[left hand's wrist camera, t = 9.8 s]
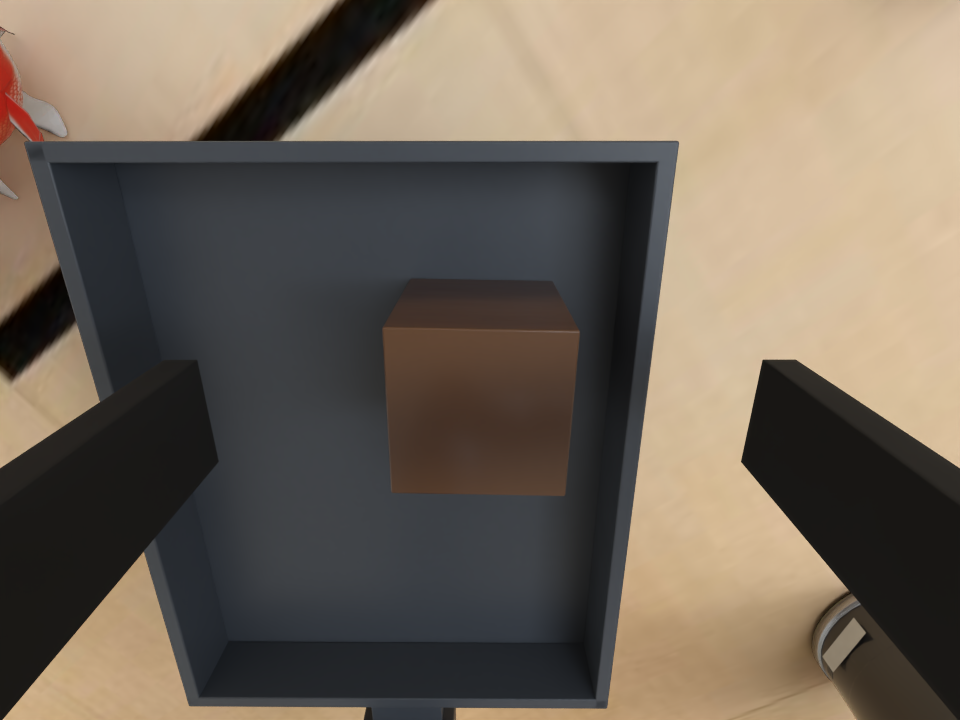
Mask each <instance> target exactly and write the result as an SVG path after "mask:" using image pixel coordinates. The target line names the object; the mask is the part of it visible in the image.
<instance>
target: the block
mask: <svg viewBox="0 0 960 720" xmlns="http://www.w3.org/2000/svg"><path fill="white" fill-rule="evenodd" d="M382 335H383V354H384V372H385V391H386V409H387V428H388V446H389V465H390V483H391V492H392V493H419V494H477V495H534V496H565V492H566V480H567V469H568V458H569V447H570V436H571V425H572V414H573V403H574V392H575V381H576V370H577V359H578V348H579V337H580V331H579V329H578V327H577V325H576V324H575V322H574V320H573V318H572V316H571V314H570V312H569V311H568V309H567V307H566V305H565V303H564V301H563V299H562V297H561V296H560V294H559V292H558V290H557V288H556V286H555V284H554V282H553V281H523V280H466V279H410V281H409V282H408V284H407V286H406V288H405V289H404V291H403V293H402V295H401V296H400V298H399V300H398V302H397V303H396V305H395V307H394V309H393V310H392V312H391V314H390V316H389V317H388V319H387V321H386V323H385V324H384V326H383V328H382Z"/></svg>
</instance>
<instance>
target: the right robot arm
mask: <svg viewBox="0 0 960 720" xmlns="http://www.w3.org/2000/svg"><path fill="white" fill-rule="evenodd" d="M812 650H813V654H814V657H815V659H816V661H817V663H818V664H819V666H820V667H821V669H822V670H823V672H824V673H825V675H826V676H827V677H828V678H829V679H830V680H831V681H832V682H833V684H834V686H835V687H836V689H837V690H838V692H839V693H840V695H841V696H842V698H843V699H844V701H845V702H846V704H847V705H848V707H849V708H850V710H851V711H852V713H853V715H854V716H855V718H856V719H857V720H957V718H956V717H955V716H954V715H953V714H952V712H951V711H950V710H949V709H948V708H947V707H946V705H945V704H944V703H943V702H942V701H941V699H940V698H939V697H938V696H937V695H936V693H935V692H934V691H933V690H932V689H931V687H930V686H929V685H928V684H927V683H926V682H925V680H924V679H923V678H922V677H921V676H920V674H919V673H918V672H917V671H916V670H915V668H914V667H913V666H912V665H911V664H910V662H909V661H908V660H907V659H906V658H905V656H904V655H903V654H902V653H901V652H900V651H899V649H898V648H897V647H896V646H895V645H894V643H893V642H892V641H891V640H890V639H889V637H888V636H887V635H886V634H885V633H884V631H883V630H882V629H881V628H880V627H879V625H878V624H877V623H876V622H875V621H874V620H873V618H872V617H871V616H870V615H869V614H868V612H867V611H866V610H865V609H864V608H863V606H862V605H861V604H860V603H859V602H858V600H857V599H856V598H855V597H854V596H853V595H852V594H850V595H848V596H846V597H845V598H843V599H842V600H840V601H839V602H838V603H836V604H835V605H834V606H833V607H832V608H830V609H829V611H828V612H827V613H826V614H825V615H824V616H823V617H822V619H821V620H820V622H819V623H818V625H817V627H816V629H815V632H814V635H813V639H812Z"/></svg>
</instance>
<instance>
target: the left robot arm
mask: <svg viewBox="0 0 960 720" xmlns="http://www.w3.org/2000/svg"><path fill="white" fill-rule="evenodd" d="M218 462H219V460H218V455H217V451H216V446H215V441H214V437H213V432H212V427H211V422H210V418H209V413H208V408H207V404H206V399H205V394H204V389H203V385H202V380H201V375H200V371H199V366H198V361H197V360H163V361H162V362H160V363H159V364H157V365H156V366H154V367H153V368H151V369H150V370H148V371H147V372H145V373H144V374H142V375H141V376H139V377H137V378H136V379H134V380H133V381H131V382H130V383H128V384H127V385H125V386H124V387H122V388H121V389H119V390H118V391H116V392H115V393H113V394H112V395H110V396H109V397H107V398H106V399H104V400H103V401H101V402H100V403H98V404H97V405H95V406H94V407H92V408H91V409H89V410H88V411H86V412H85V413H83V414H82V415H80V416H79V417H77V418H76V419H74V420H73V421H71V422H70V423H68V424H67V425H65V426H64V427H62V428H61V429H59V430H57V431H56V432H54V433H53V434H51V435H50V436H48V437H47V438H45V439H44V440H42V441H41V442H39V443H38V444H36V445H35V446H33V447H32V448H30V449H29V450H27V451H26V452H24V453H23V454H21V455H20V456H18V457H17V458H15V459H14V460H12V461H11V462H9V463H8V464H6V465H5V466H3V467H2V468H0V720H3V718H4V717H5V716H6V715H7V714H8V712H9V711H10V710H11V709H12V708H13V707H14V705H15V704H16V703H17V702H18V701H19V699H20V698H21V697H22V696H23V695H24V693H25V692H26V691H27V690H28V689H29V687H30V686H31V685H32V684H33V683H34V681H35V680H36V679H37V678H38V677H39V676H40V674H41V673H42V672H43V671H44V670H45V668H46V667H47V666H48V665H49V664H50V662H51V661H52V660H53V659H54V658H55V656H56V655H57V654H58V653H59V652H60V651H61V649H62V648H63V647H64V646H65V645H66V643H67V642H68V641H69V640H70V639H71V637H72V636H73V635H74V634H75V633H76V631H77V630H78V629H79V628H80V627H81V625H82V624H83V623H84V622H85V621H86V620H87V618H88V617H89V616H90V615H91V614H92V612H93V611H94V610H95V609H96V608H97V606H98V605H99V604H100V603H101V602H102V600H103V599H104V598H105V597H106V596H107V595H108V593H109V592H110V591H111V590H112V589H113V587H114V586H115V585H116V584H117V583H118V581H119V580H120V579H121V578H122V577H123V575H124V574H125V573H126V572H127V571H128V569H129V568H130V567H131V566H132V565H133V564H134V562H135V561H136V560H137V559H138V558H139V556H140V555H141V554H142V553H143V552H144V550H145V549H146V548H147V547H148V546H149V544H150V543H151V542H152V541H153V540H154V538H155V537H156V536H157V535H158V534H159V533H160V531H161V530H162V529H163V528H164V527H165V525H166V524H167V523H168V522H169V521H170V519H171V518H172V517H173V516H174V515H175V513H176V512H177V511H178V510H179V509H180V508H181V506H182V505H183V504H184V503H185V502H186V500H187V499H188V498H189V497H190V496H191V494H192V493H193V492H194V491H195V490H196V488H197V487H198V486H199V485H200V484H201V482H202V481H203V480H204V479H205V478H206V477H207V475H208V474H209V473H210V472H211V471H212V469H213V468H214V467H215V466H216V465H217V463H218ZM741 462H742V463H743V465H744V466H745V467H746V468H747V469H748V471H749V472H750V473H751V474H752V475H753V477H754V478H755V479H756V480H757V481H758V482H759V484H760V485H761V486H762V487H763V488H764V490H765V491H766V492H767V493H768V494H769V496H770V497H771V498H772V499H773V500H774V502H775V503H776V504H777V505H778V506H779V508H780V509H781V510H782V511H783V512H784V513H785V515H786V516H787V517H788V518H789V519H790V521H791V522H792V523H793V524H794V525H795V527H796V528H797V529H798V530H799V531H800V533H801V534H802V535H803V536H804V537H805V538H806V540H807V541H808V542H809V543H810V544H811V546H812V547H813V548H814V549H815V550H816V552H817V553H818V554H819V555H820V556H821V558H822V559H823V560H824V561H825V562H826V564H827V565H828V566H829V567H830V568H831V569H832V571H833V572H834V573H835V574H836V575H837V577H838V578H839V579H840V580H841V581H842V583H843V584H844V585H845V586H846V587H847V589H848V590H849V591H850V592H851V593H852V595H853V596H854V597H855V598H856V599H857V600H858V602H859V603H860V604H861V605H862V606H863V608H864V609H865V610H866V611H867V612H868V614H869V615H870V616H871V617H872V618H873V620H874V621H875V622H876V623H877V624H878V625H879V627H880V628H881V629H882V630H883V631H884V633H885V634H886V635H887V636H888V637H889V639H890V640H891V641H892V642H893V643H894V645H895V646H896V647H897V648H898V649H899V651H900V652H901V653H902V654H903V655H904V656H905V658H906V659H907V660H908V661H909V662H910V664H911V665H912V666H913V667H914V668H915V670H916V671H917V672H918V673H919V674H920V676H921V677H922V678H923V679H924V680H925V682H926V683H927V684H928V685H929V686H930V687H931V689H932V690H933V691H934V692H935V693H936V695H937V696H938V697H939V698H940V699H941V701H942V702H943V703H944V704H945V705H946V707H947V708H948V709H949V710H950V711H951V712H952V714H953V715H954V716H955V717H956V718H957V720H960V468H958V467H957V466H955V465H954V464H952V463H951V462H949V461H948V460H946V459H945V458H943V457H942V456H940V455H939V454H937V453H936V452H934V451H933V450H931V449H930V448H928V447H927V446H925V445H924V444H922V443H921V442H919V441H918V440H916V439H915V438H913V437H912V436H910V435H909V434H907V433H906V432H904V431H903V430H901V429H899V428H898V427H896V426H895V425H893V424H892V423H890V422H889V421H887V420H886V419H884V418H883V417H881V416H880V415H878V414H877V413H875V412H874V411H872V410H871V409H869V408H868V407H866V406H865V405H863V404H862V403H860V402H859V401H857V400H856V399H854V398H853V397H851V396H850V395H848V394H847V393H845V392H844V391H842V390H841V389H839V388H838V387H836V386H835V385H833V384H832V383H830V382H829V381H827V380H826V379H824V378H823V377H821V376H819V375H818V374H816V373H815V372H813V371H812V370H810V369H809V368H807V367H806V366H804V365H803V364H801V363H800V362H798V361H797V360H763V361H762V366H761V371H760V375H759V380H758V385H757V389H756V394H755V399H754V404H753V408H752V413H751V418H750V422H749V427H748V432H747V437H746V441H745V446H744V451H743V455H742V460H741Z"/></svg>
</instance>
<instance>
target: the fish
mask: <svg viewBox="0 0 960 720" xmlns="http://www.w3.org/2000/svg"><path fill="white" fill-rule="evenodd" d="M4 32H8V31H7V30H5V29H3V28H2V27H0V37H1V36H2V35H3V34H4ZM8 33H11V32H8ZM11 34H13V33H11ZM14 35H15V34H14ZM15 127H16V128H17V129H18V130H19V131H20V132H21V133H22V134H23V135H24V136H25V137H26V138H27V139H28V140H29V141H44V139H43V136H42V133H41V132H40V131H39V129H38V127H39V128H42V129H44V130H47V131H49V132H51V133H53V134H55V135H57V136H59V137H65V136H66V135H67V130H66V127H65V125H64V123H63V121H62V119H61V117H60V115H59V113H58V111H57V110H56V109H55V108H54V106H52V105H51V104H49V103H47V102H45V101H42V100H39V99H35V98H33V97H31V96H29V95H28V94H26V93H25V92H24V91H23V90H22V85H21V78H20V75H19V72H18V69H17V67H16V65H15V63H14V61H13V59H12V57H11V55H10V54H9V52H8V50H7V49H6V47H5V46H4V44H3V43H2V41H1V40H0V145H1V144H2V143H3V142H4V141H6V140H7V139H8V138H9V136H10V135H11V134H12V132H13V130H14V128H15ZM0 193H1V194H3V195H6V196H8V197H10V198H12V199H19V198H18V197H17V196H16V195H15V194H14V193H13V192H12V191H11V190H10V189H9V188H8V187H7V186H6V185H5V184H4V183H3V182H2V181H1V180H0Z"/></svg>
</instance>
